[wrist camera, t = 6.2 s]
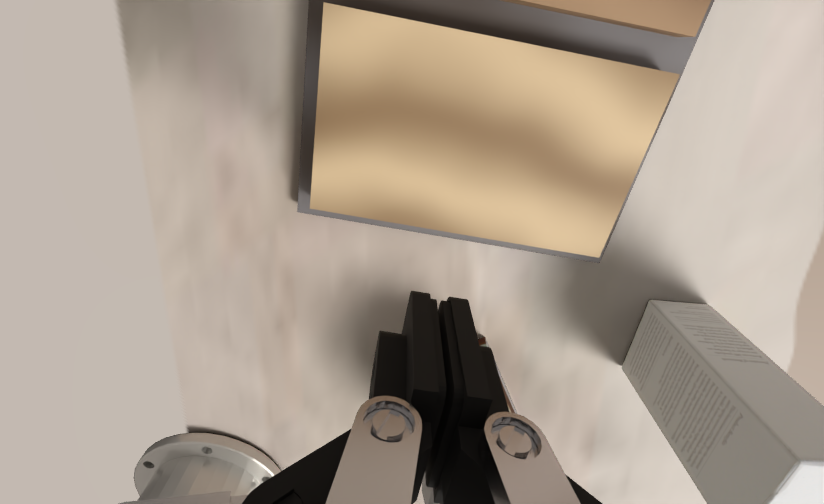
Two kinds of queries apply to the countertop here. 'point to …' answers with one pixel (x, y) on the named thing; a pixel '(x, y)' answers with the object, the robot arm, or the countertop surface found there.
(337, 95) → the oak plank
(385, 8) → the floor board
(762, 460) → the skincare box
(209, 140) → the countertop surface
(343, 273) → the countertop surface
